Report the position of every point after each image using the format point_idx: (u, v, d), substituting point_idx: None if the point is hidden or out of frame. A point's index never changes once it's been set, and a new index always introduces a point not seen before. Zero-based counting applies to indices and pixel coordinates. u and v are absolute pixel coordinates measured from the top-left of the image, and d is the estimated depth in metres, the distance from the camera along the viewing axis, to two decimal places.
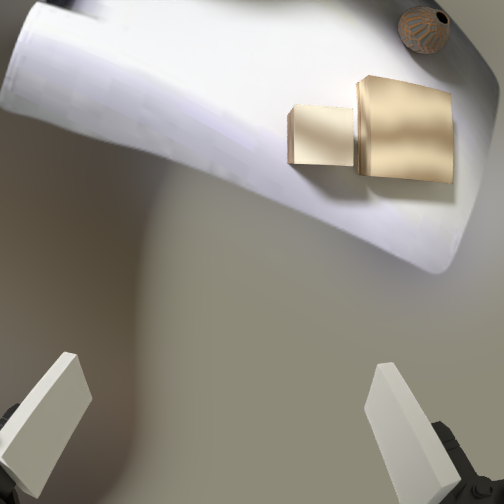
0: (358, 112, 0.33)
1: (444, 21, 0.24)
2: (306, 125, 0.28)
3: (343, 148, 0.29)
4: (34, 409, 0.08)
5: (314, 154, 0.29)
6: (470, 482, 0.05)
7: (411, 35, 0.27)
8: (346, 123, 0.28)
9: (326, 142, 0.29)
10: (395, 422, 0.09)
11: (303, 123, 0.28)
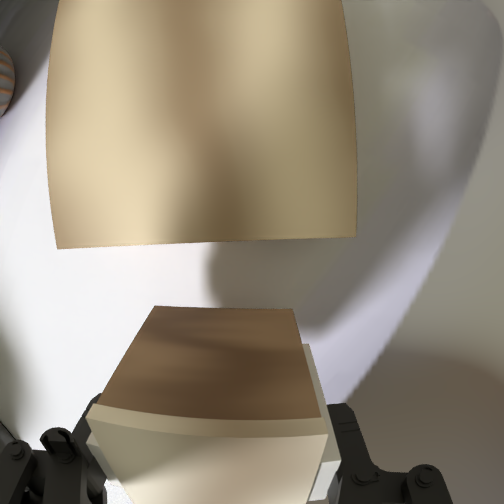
0: None
1: None
2: None
3: (252, 461, 0.06)
4: None
5: None
6: (349, 469, 0.07)
7: None
8: (148, 445, 0.06)
9: (233, 491, 0.07)
10: None
11: None
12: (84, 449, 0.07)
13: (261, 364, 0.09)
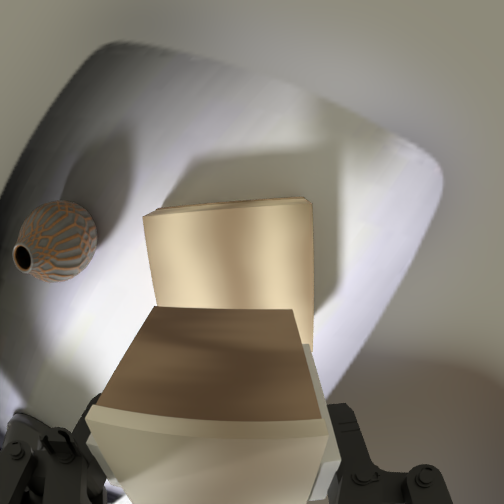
0: None
1: (27, 218, 0.19)
2: None
3: (253, 463, 0.06)
4: None
5: None
6: (349, 469, 0.07)
7: (75, 274, 0.22)
8: (147, 446, 0.06)
9: (233, 492, 0.07)
10: None
11: None
12: (84, 449, 0.07)
13: (261, 365, 0.09)
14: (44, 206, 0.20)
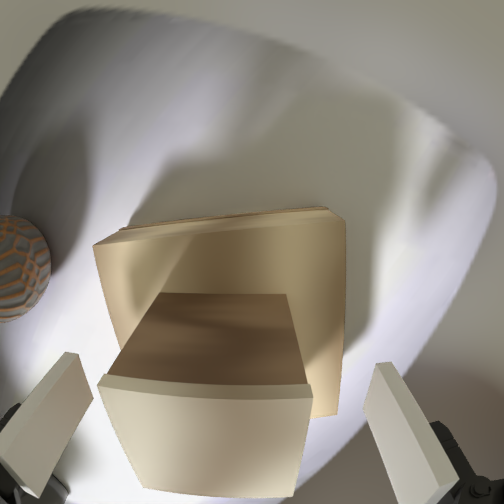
0: None
1: None
2: (189, 482, 0.09)
3: (246, 425, 0.08)
4: (36, 409, 0.08)
5: (269, 475, 0.08)
6: (468, 482, 0.05)
7: (22, 313, 0.15)
8: (152, 410, 0.08)
9: (229, 458, 0.08)
10: (393, 422, 0.09)
11: (185, 485, 0.09)
12: None
13: (256, 339, 0.10)
14: None
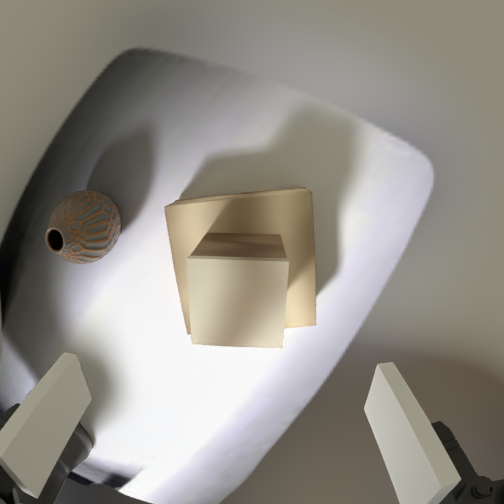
0: None
1: (57, 206, 0.23)
2: (223, 331, 0.19)
3: (258, 278, 0.18)
4: (34, 409, 0.08)
5: (269, 322, 0.19)
6: (470, 482, 0.05)
7: (101, 256, 0.26)
8: (213, 270, 0.18)
9: (248, 305, 0.19)
10: (394, 422, 0.09)
11: (220, 335, 0.20)
12: None
13: (263, 247, 0.21)
14: (74, 195, 0.24)
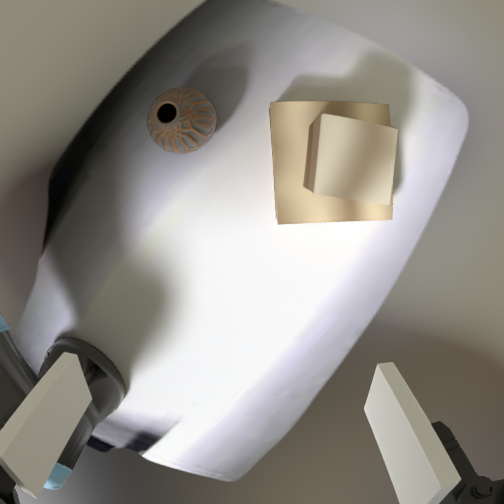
0: None
1: (162, 94, 0.25)
2: (344, 182, 0.22)
3: (376, 137, 0.20)
4: (34, 409, 0.08)
5: (381, 178, 0.21)
6: (470, 482, 0.05)
7: (198, 145, 0.28)
8: (343, 126, 0.20)
9: (367, 159, 0.21)
10: (395, 423, 0.09)
11: (341, 186, 0.22)
12: None
13: None
14: (180, 87, 0.26)
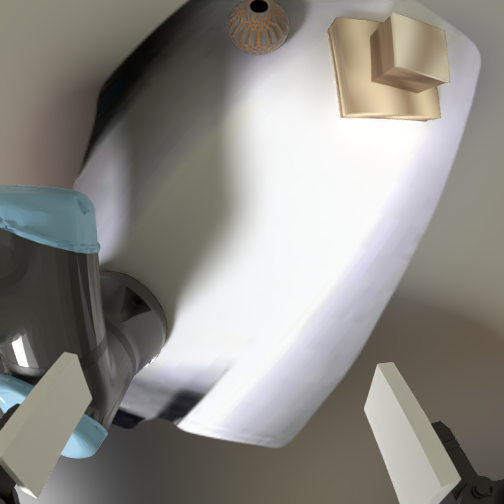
0: None
1: (245, 0, 0.24)
2: (416, 59, 0.21)
3: (431, 33, 0.20)
4: (34, 409, 0.08)
5: (440, 61, 0.20)
6: (470, 482, 0.05)
7: (277, 43, 0.27)
8: (408, 22, 0.19)
9: (428, 47, 0.20)
10: (395, 423, 0.09)
11: (414, 62, 0.21)
12: None
13: None
14: None
